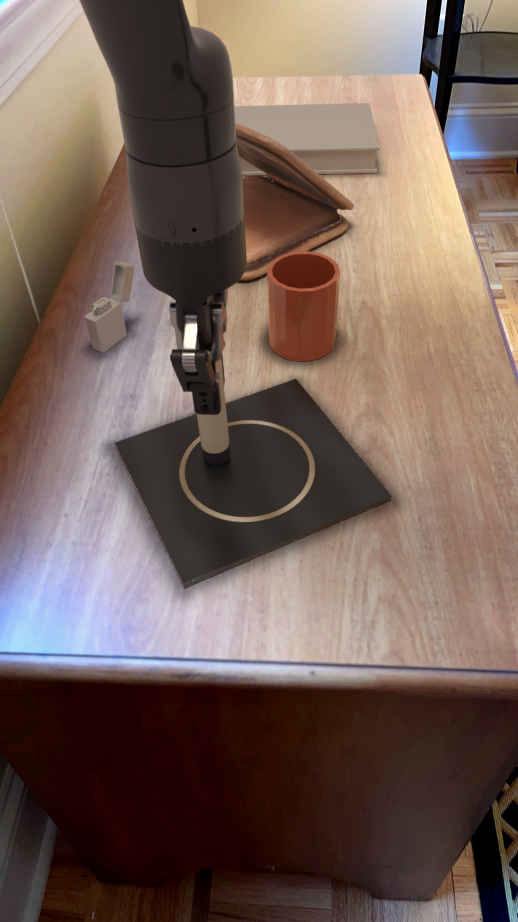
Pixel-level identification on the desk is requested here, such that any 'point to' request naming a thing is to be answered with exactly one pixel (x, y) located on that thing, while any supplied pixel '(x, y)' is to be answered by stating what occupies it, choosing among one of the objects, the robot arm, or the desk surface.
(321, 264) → the pen cup
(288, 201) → the case
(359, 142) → the book
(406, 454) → the desk surface
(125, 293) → the lighter
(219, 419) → the cylinder
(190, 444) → the black flat square pad
